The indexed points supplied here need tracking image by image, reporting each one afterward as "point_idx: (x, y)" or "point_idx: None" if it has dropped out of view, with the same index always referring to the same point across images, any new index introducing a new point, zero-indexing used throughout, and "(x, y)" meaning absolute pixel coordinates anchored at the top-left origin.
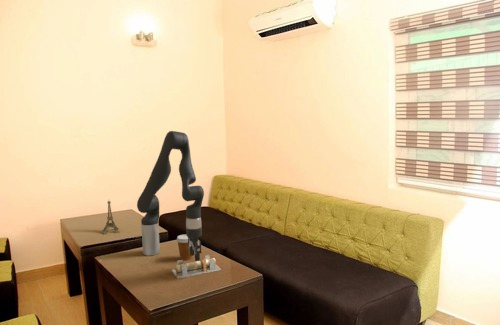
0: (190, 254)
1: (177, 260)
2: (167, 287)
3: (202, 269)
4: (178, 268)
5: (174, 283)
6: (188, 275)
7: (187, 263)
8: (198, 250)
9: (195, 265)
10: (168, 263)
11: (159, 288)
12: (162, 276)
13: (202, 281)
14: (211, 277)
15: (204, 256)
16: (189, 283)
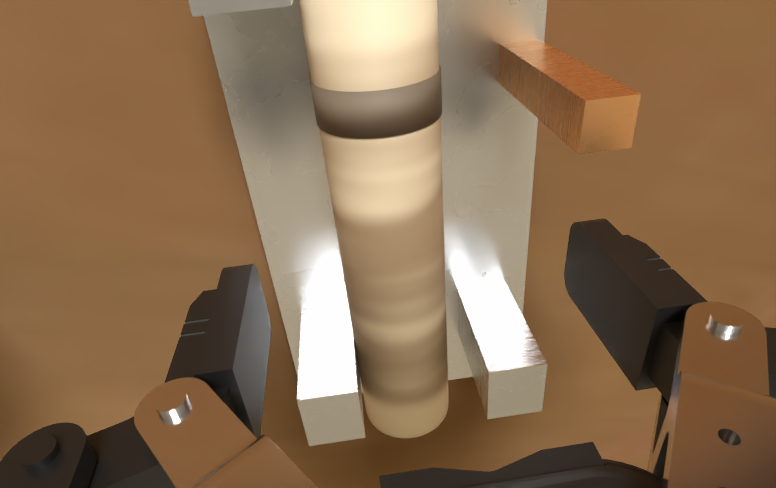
0: (267, 341)
1: (310, 444)
2: (632, 420)
3: (457, 84)
4: (448, 397)
5: (594, 378)
6: (522, 269)
7: (409, 327)
8: (708, 376)
9: (442, 209)
10: (30, 401)
11: (610, 459)
12: (390, 445)
13: (740, 146)
14: (720, 4)
15: (223, 11)
16: (685, 273)
